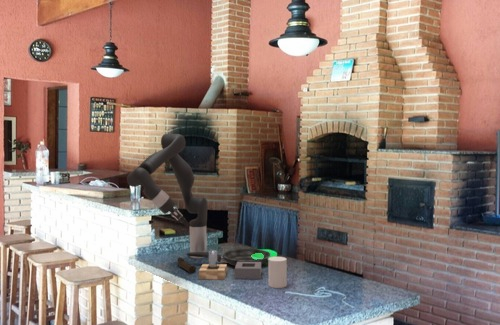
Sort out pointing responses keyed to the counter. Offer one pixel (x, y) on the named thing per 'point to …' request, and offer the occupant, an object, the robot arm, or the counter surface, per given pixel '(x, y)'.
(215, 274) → the square frame block
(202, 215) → the robot arm
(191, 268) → the hand tool
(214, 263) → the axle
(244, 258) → the frying pan
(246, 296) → the counter surface
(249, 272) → the holder block
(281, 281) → the cup
